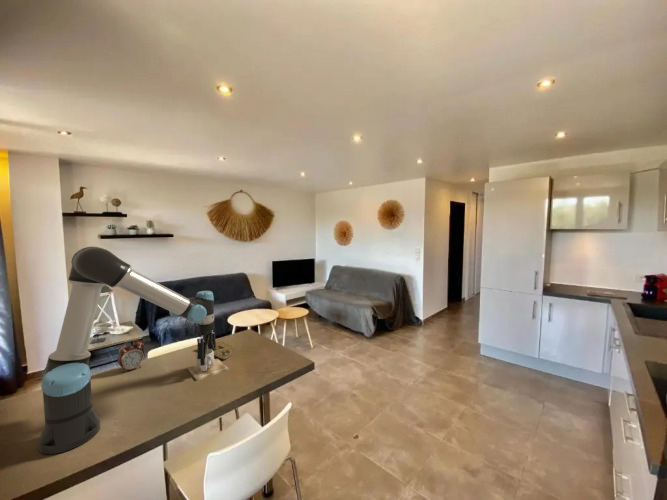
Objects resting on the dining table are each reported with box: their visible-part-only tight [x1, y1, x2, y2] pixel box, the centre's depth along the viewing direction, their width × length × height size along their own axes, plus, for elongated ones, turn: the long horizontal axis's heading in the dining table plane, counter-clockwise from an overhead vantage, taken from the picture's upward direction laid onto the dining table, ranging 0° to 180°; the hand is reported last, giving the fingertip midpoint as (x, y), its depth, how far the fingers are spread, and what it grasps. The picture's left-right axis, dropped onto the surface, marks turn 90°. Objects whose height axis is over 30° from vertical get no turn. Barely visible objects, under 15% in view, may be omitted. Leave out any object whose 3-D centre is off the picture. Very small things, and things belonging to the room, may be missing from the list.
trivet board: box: [187, 357, 229, 381], centre depth 141 cm, size 15×15×1 cm
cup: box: [195, 349, 215, 369], centre depth 140 cm, size 11×8×8 cm
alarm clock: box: [117, 339, 146, 373], centre depth 142 cm, size 11×5×15 cm, turn 143°
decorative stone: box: [207, 340, 235, 360], centre depth 162 cm, size 25×15×5 cm, turn 47°
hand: (207, 367), depth 141 cm, fingers closed on cup, 7 cm apart
